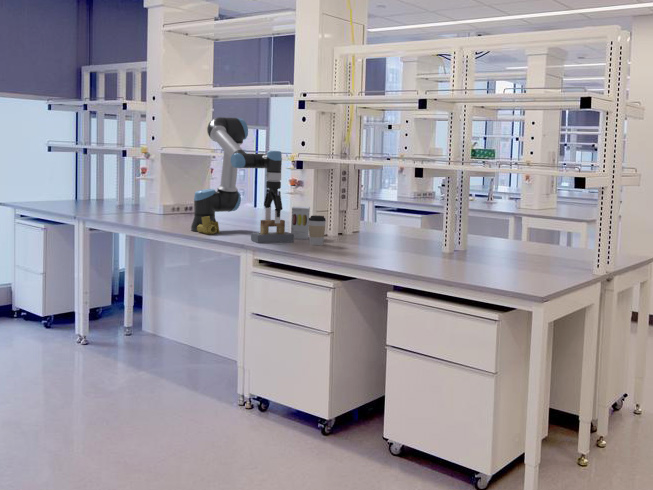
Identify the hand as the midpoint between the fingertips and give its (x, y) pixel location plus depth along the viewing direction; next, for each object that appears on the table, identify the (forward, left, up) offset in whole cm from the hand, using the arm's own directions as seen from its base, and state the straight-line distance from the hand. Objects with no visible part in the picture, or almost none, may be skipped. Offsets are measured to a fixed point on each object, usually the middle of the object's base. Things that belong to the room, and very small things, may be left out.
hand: (272, 221), depth 379 cm
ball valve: (-37, -23, -11) cm, 45 cm away
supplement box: (-10, +20, -11) cm, 25 cm away
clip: (0, 0, -10) cm, 10 cm away
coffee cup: (+16, +18, -10) cm, 26 cm away
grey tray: (0, 0, -10) cm, 10 cm away
